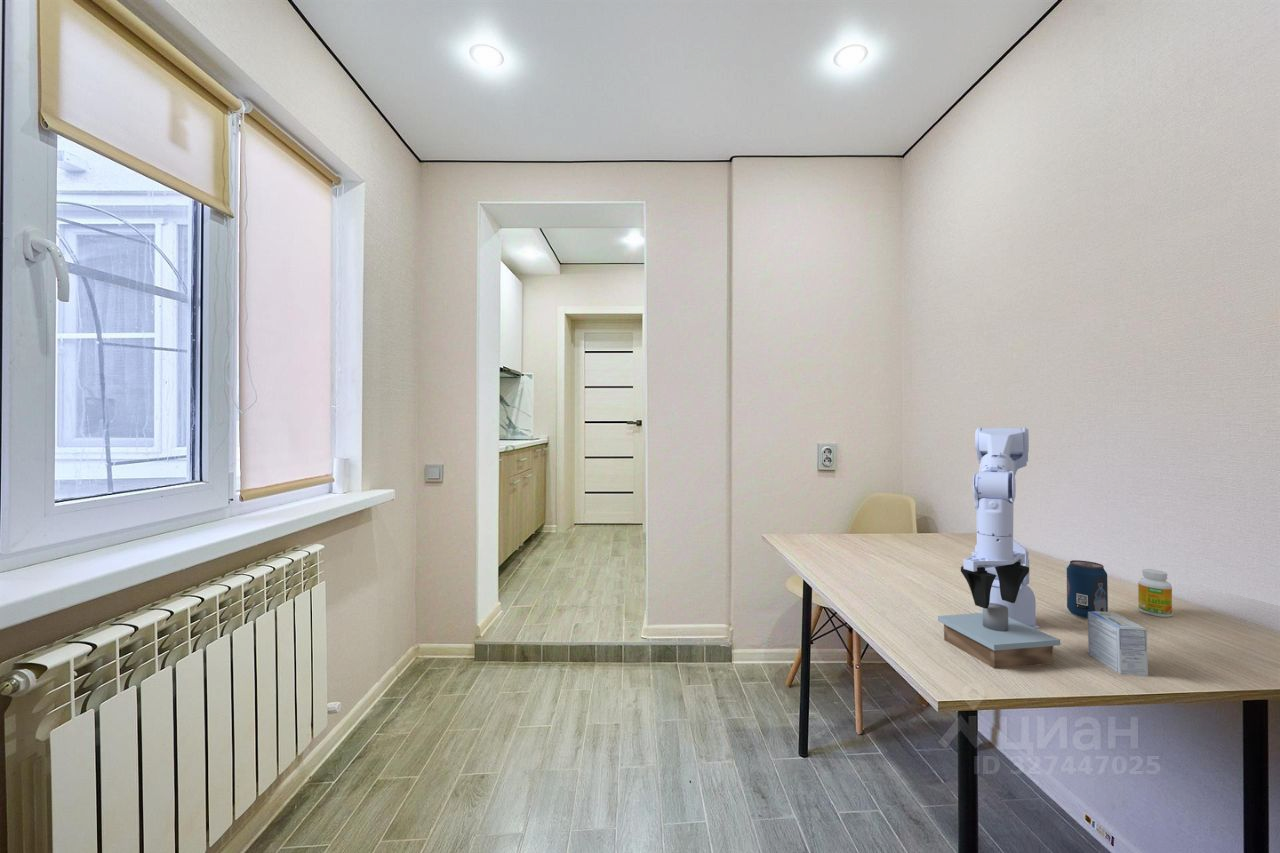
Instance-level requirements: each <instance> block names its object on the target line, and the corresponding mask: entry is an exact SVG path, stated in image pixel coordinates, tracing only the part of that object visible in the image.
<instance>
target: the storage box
mask: <svg viewBox="0 0 1280 853" xmlns="http://www.w3.org/2000/svg"><path fill="white" fill-rule="evenodd" d="M943 632H944V633H943V640H944V641H945V642H947V643H948V644H951V645H952V646H954V647H955V648H957V649H959V650H961V651H963V652H965V653H966V654H968V655H970V656H971V657H973V658H974V659H977V660H979V661H981V662H982V663H983V664H985V665H987V666H989V667H990V668H992V669H994V670H995V669H1006V668H1019V667H1029V666H1030V667H1031V666H1041V665H1053V664H1054V650H1053V649H1054V646H1046V647H1033V648H1021V649H1008V650H996V651H994V650H992V649H990V648H988V647H986V646H984V645H983V644H981V643H979V642H977V641H975V640H973V639H971V638H969V637H967V636H966V635H964V634H962V633H960V632H958V631H956V630H954V629H952V628H950V627H949V626H947V625H945V624H943Z"/></svg>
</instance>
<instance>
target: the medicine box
mask: <svg viewBox="0 0 1280 853" xmlns="http://www.w3.org/2000/svg"><path fill="white" fill-rule="evenodd" d="M1147 630H1148V629H1147V628H1146V627H1144V626H1141V625H1140V624H1138V623H1136V622H1134V621H1132V620H1130V619H1128V618H1126V617H1124V616H1122V615H1119V614H1117V613H1116V612H1112V611H1111V612H1110V611H1108V612H1100V611H1092V612H1088V620H1087V632H1088V634H1087V635H1088V636H1087V638H1088V641H1087V642H1088V654H1089V655H1090V656H1091V657H1092V658H1095V659H1096V660H1098V662H1100V663H1102V664H1104V665H1105V666H1107V667H1108V668H1109V669H1111V670H1113V671H1115V672H1116V673H1118V674H1119V675H1126V676H1127V675H1128V676H1139V677H1149V661H1148V656H1149V655H1148V633H1147V632H1148V631H1147Z"/></svg>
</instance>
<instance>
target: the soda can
mask: <svg viewBox="0 0 1280 853" xmlns="http://www.w3.org/2000/svg"><path fill="white" fill-rule="evenodd" d="M1108 593H1109V592H1108V573H1107V571H1106V570H1105V566H1104V565H1103V564H1102V563H1097V562H1095V561H1093V562H1092V561H1088V560H1077V559H1075V560H1070V561H1069V564H1068V565H1067V566H1066V607H1067V610H1068V611H1069V612H1070V614H1071V615H1073V617H1077V618H1080V619H1083V620H1087V621H1088V612H1092V611H1100V612H1109V600H1108V599H1109V597H1108V596H1109V594H1108Z"/></svg>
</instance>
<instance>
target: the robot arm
mask: <svg viewBox="0 0 1280 853" xmlns="http://www.w3.org/2000/svg"><path fill="white" fill-rule="evenodd" d="M1029 433H1030V432H1029V429H1028V428H1027V427H1026V426H1023V427H981V426H980V427H979V426H978V427H977V429H975V433H974V434H975V435H974V447H975V452H976V457H977V458H976V459H977V461H978V465H979V468H978V473H973V476H972V494H973V498H974V509H976V513H975V514H976V516H975V517H976V520H975V521H976V522H975V523H976V544H975V546H974V551H971V556H969V557H968V558H967V557H966V558H963V565H962V566H960V572H961V574H962V575H963V577H964V579H965V580H966V582H967V584H968V587H969V589H970V592H971V595H972V599H973V602H974V605H975V606H977V607H979V608H981V613H983V608H985V609H986V608H988V607H989V603H996V604H1000V605H1004V606H1006V607H1007V608H1008V617H1009V618H1012V619H1014V620H1016V621H1018V622H1021V623H1023V624H1025V625H1028V626H1030V627H1032V628H1035V629H1040V626H1039V625H1037V624H1036V623H1037V622H1036V620H1037V619H1036V618H1037V617H1036V614H1037V613H1036V609H1037V608H1036V607H1037V603H1036V595H1035V594H1034V591H1033V590H1032V588H1031V587H1030V586H1028V585H1029V584H1030V558H1029V552H1028V550H1027V548H1026V547H1024V546H1023V545H1022V544H1020V543H1019V542H1017V541H1016V540H1015V539H1014V502H1015V500H1016V488H1017V486H1016V474H1017V472H1018V470H1019V469H1022V468H1024V467H1026V466H1027V462H1029V451H1030V450H1029V447H1030V445H1029V444H1030V442H1029V441H1030V439H1029V438H1030V437H1029V436H1030V435H1029Z"/></svg>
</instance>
